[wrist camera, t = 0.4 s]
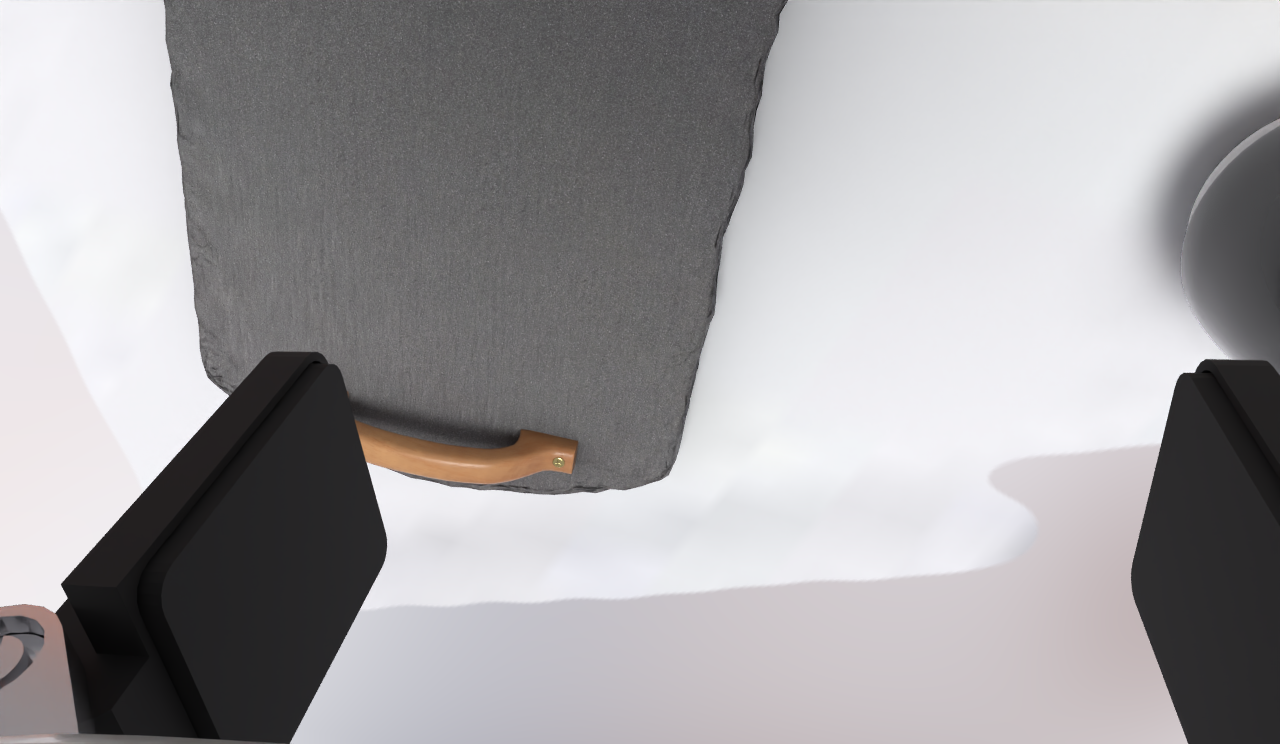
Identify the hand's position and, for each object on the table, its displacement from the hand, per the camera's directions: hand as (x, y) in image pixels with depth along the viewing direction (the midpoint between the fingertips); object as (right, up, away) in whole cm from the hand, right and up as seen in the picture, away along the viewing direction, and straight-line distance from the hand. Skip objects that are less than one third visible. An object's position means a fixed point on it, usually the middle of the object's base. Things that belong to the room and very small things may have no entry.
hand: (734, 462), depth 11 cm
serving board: (-8, +13, +29) cm, 33 cm away
